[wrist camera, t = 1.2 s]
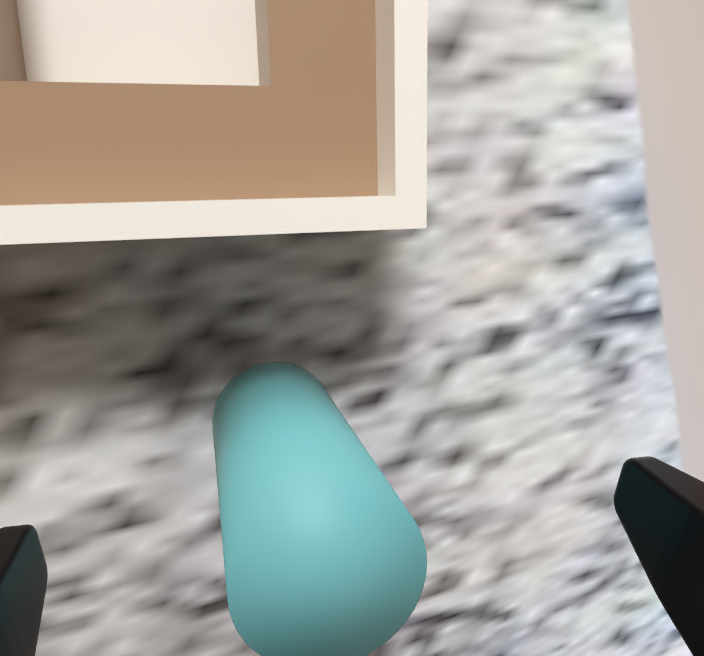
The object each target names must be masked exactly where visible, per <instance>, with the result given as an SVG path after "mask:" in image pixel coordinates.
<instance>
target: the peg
mask: <svg viewBox="0 0 704 656" xmlns="http://www.w3.org/2000/svg"><path fill="white" fill-rule="evenodd" d="M213 438H214V449H215V461H216V472H217V484H218V496H219V507H220V519H221V531H222V542H223V554H224V565H225V577H226V589H227V600H228V606H229V612H230V615H231V618H232V621H233V623H234V625H235V627H236V629H237V631H238V633H239V634H240V636H241V637H242V638H243V640H244V641H245V642H246V643H247V644H248V645H249V646H250V647H251V648H252V649H253V650H254V651H255V652H257V653H258V654H260V655H261V656H366V655H368V654H370V653H371V652H373V651H374V650H376V649H377V648H379V647H380V646H382V645H383V644H384V643H385V642H387V641H388V640H389V639H390V638H391V637H392V636H393V635H394V634H395V633H396V632H397V631H398V630H399V629H400V628H401V627H402V626H403V624H404V623H405V622H406V621H407V619H408V618H409V616H410V615H411V613H412V612H413V610H414V609H415V606H416V604H417V602H418V600H419V598H420V596H421V593H422V590H423V587H424V582H425V578H426V570H427V556H426V548H425V544H424V540H423V537H422V534H421V532H420V529H419V528H418V526H417V524H416V522H415V520H414V519H413V518H412V516H411V515H410V513H409V512H408V510H407V509H406V507H405V506H404V504H403V503H402V501H401V500H400V499H399V497H398V496H397V494H396V493H395V491H394V490H393V488H392V487H391V485H390V484H389V482H388V481H387V479H386V478H385V477H384V475H383V474H382V472H381V471H380V469H379V468H378V466H377V465H376V463H375V462H374V460H373V459H372V458H371V456H370V455H369V453H368V452H367V450H366V449H365V447H364V446H363V444H362V443H361V441H360V440H359V439H358V437H357V436H356V434H355V433H354V431H353V430H352V428H351V427H350V425H349V424H348V422H347V421H346V420H345V418H344V417H343V415H342V414H341V412H340V411H339V409H338V408H337V406H336V405H335V403H334V402H333V400H332V399H331V398H330V396H329V395H328V393H327V392H326V390H325V389H324V387H323V386H322V385H321V383H320V382H319V381H318V380H317V379H316V378H315V377H314V376H313V375H312V374H310V373H309V372H308V371H306V370H304V369H302V368H300V367H298V366H295V365H292V364H287V363H279V362H274V363H264V364H260V365H256V366H253V367H251V368H249V369H247V370H245V371H243V372H241V373H240V374H238V375H237V376H236V377H234V378H233V379H232V380H231V381H230V382H229V383H228V384H227V385H226V387H225V388H224V389H223V391H222V392H221V394H220V396H219V397H218V400H217V402H216V405H215V408H214V412H213Z"/></svg>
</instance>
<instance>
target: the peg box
mask: <svg viewBox="0 0 704 656" xmlns="http://www.w3.org/2000/svg"><path fill="white" fill-rule="evenodd" d="M426 216H427V0H0V245H8V244H33V243H59V242H84V241H110V240H136V239H161V238H187V237H212V236H238V235H264V234H289V233H315V232H340V231H366V230H392V229H417V228H426Z"/></svg>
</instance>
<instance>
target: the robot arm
mask: <svg viewBox="0 0 704 656" xmlns="http://www.w3.org/2000/svg"><path fill="white" fill-rule="evenodd" d="M614 506H615V510H616V513H617V515H618V517H619V519H620V521H621V523H622V525H623V527H624V529H625V531H626V533H627V535H628V537H629V540H630V542H631V544H632V546H633V548H634V550H635V552H636V554H637V556H638V558H639V560H640V562H641V564H642V566H643V568H644V570H645V572H646V574H647V577H648V579H649V581H650V583H651V585H652V587H653V588H654V590H655V592H656V594H657V596H658V598H659V600H660V601H661V603H662V605H663V607H664V608H665V610H666V612H667V613H668V615H669V617H670V618H671V620H672V622H673V623H674V625H675V627H676V628H677V630H678V631H679V633H680V635H681V636H682V638H683V640H684V641H685V643H686V645H687V646H688V648H689V650H690V651H691V653H692V654H693V656H704V482H702V481H700V480H698V479H696V478H694V477H692V476H690V475H688V474H686V473H684V472H682V471H680V470H678V469H676V468H674V467H672V466H670V465H668V464H666V463H664V462H662V461H660V460H658V459H656V458H654V457H638V458H630V459H628V460H626V462H625V463H624V464H623V466H622V470H621V473H620V477H619V480H618V484H617V487H616V490H615V494H614ZM47 577H48V575H47V565H46V562H45V558H44V555H43V551H42V548H41V544H40V541H39V537H38V534H37V531H36V529H35V528H34V526H32V525H19V526H10V527H4V528H1V529H0V656H35V652H36V646H37V640H38V634H39V628H40V622H41V616H42V610H43V604H44V598H45V593H46V587H47Z"/></svg>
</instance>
